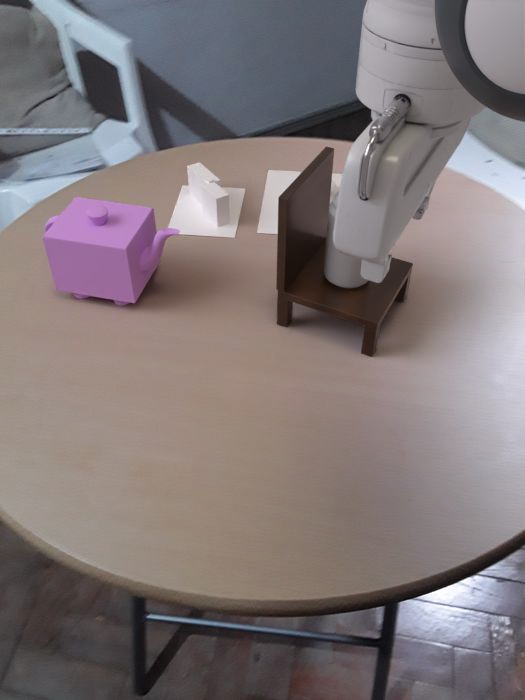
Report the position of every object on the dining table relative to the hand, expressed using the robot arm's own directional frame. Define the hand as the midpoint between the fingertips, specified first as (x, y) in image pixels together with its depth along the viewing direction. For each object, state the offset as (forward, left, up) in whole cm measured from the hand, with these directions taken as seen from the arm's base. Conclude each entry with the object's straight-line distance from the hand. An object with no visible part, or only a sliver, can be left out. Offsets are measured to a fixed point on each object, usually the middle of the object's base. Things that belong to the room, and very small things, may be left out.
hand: (395, 243), depth 54 cm
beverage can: (+12, -25, -25) cm, 37 cm away
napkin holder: (+42, -38, -31) cm, 65 cm away
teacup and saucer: (+26, -49, -31) cm, 64 cm away
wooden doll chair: (+12, -25, -31) cm, 42 cm away
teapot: (+43, -15, -31) cm, 55 cm away
